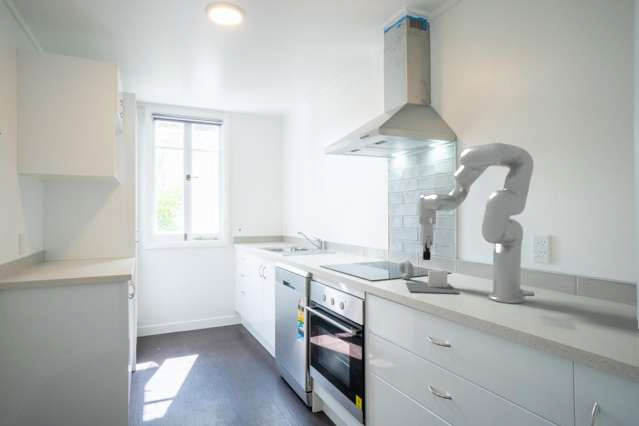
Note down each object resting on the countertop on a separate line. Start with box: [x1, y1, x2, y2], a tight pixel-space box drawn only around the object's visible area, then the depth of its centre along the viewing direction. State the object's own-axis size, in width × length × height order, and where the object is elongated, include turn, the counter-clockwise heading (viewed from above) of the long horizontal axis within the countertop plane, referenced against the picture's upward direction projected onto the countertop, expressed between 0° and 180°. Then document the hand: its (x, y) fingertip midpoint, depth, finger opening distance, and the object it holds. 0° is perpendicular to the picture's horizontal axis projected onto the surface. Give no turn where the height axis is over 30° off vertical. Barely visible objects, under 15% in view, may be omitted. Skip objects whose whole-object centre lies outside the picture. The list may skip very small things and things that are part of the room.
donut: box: [397, 259, 415, 280], centre depth 185 cm, size 10×3×10 cm, turn 27°
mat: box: [405, 281, 460, 295], centre depth 163 cm, size 20×20×1 cm
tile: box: [427, 269, 448, 287], centre depth 165 cm, size 8×2×7 cm, turn 82°
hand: (426, 259), depth 174 cm, fingers closed
